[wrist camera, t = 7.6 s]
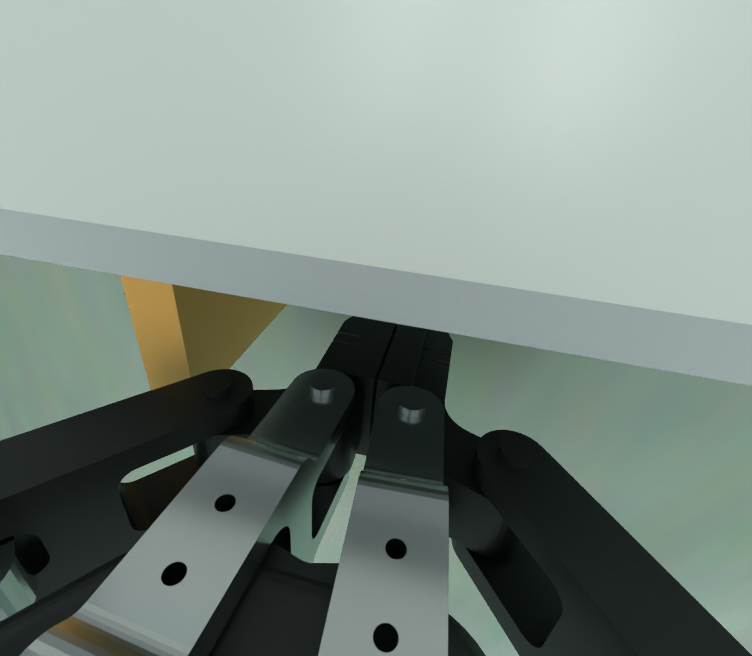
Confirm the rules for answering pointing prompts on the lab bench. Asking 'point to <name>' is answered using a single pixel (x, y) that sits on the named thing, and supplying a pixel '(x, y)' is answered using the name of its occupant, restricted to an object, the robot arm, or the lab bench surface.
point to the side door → (192, 328)
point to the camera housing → (401, 162)
